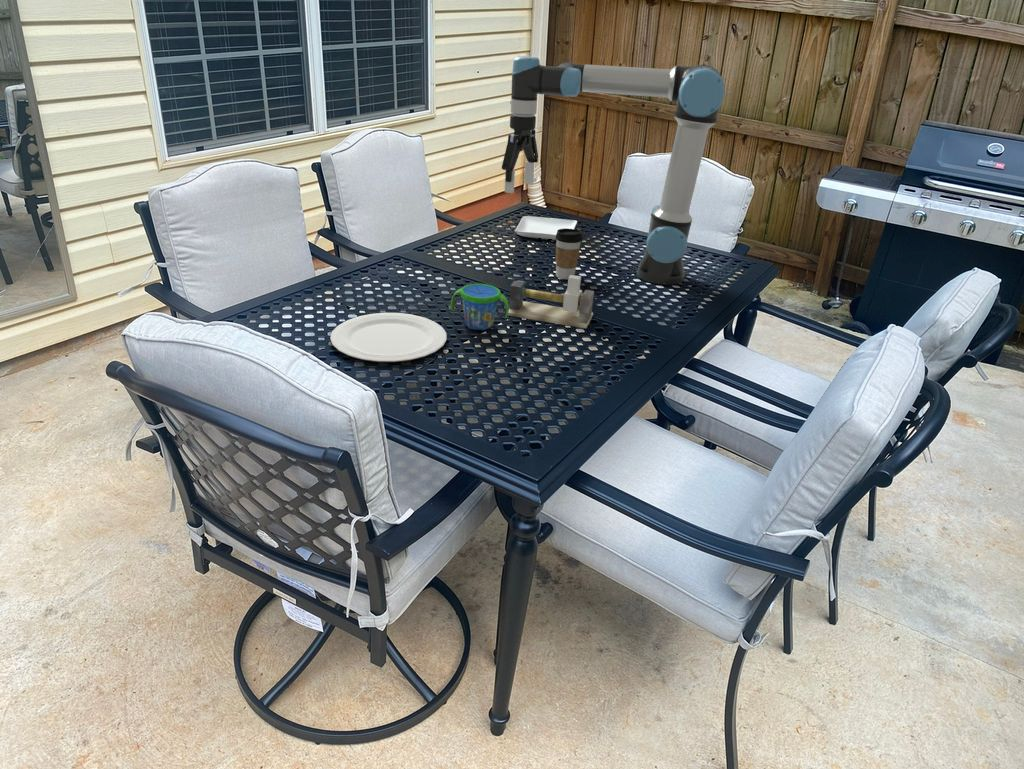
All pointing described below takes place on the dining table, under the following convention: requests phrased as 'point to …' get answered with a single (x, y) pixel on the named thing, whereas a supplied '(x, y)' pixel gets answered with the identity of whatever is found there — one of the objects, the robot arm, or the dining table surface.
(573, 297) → the sleeve
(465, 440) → the dining table surface
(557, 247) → the coffee cup
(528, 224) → the salad plate
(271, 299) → the dining table surface
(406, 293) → the dining table surface
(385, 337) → the plate
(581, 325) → the lead screw slide rig
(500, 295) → the snack cup
